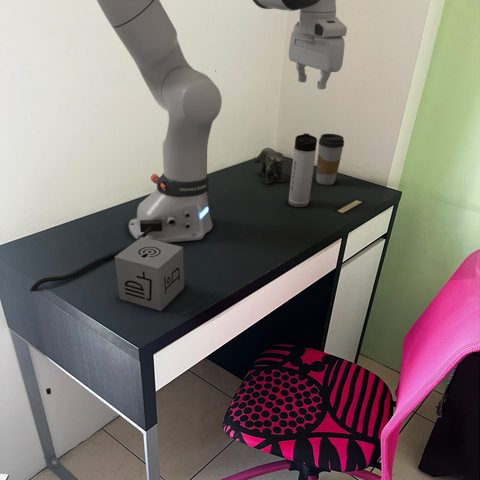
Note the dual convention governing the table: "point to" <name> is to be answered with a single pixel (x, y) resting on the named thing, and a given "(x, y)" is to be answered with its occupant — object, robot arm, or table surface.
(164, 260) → the icon cube
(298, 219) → the table surface
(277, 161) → the toy dinosaur
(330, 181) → the coffee cup
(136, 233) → the robot arm
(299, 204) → the travel mug
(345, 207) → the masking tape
